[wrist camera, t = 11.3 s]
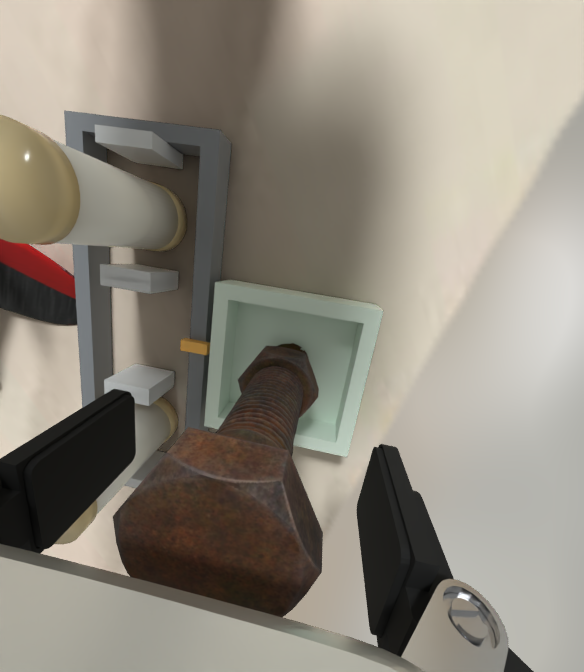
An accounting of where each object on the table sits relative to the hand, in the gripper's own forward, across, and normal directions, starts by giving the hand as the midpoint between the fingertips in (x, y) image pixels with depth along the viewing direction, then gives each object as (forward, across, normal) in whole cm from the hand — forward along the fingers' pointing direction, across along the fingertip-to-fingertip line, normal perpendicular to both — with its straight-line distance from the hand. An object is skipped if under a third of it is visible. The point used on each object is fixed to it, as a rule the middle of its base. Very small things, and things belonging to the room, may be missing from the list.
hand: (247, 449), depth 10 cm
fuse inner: (+12, +11, -8) cm, 18 cm away
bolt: (+11, 0, +1) cm, 11 cm away
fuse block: (+12, +11, 0) cm, 16 cm away
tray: (+12, 0, +1) cm, 12 cm away
